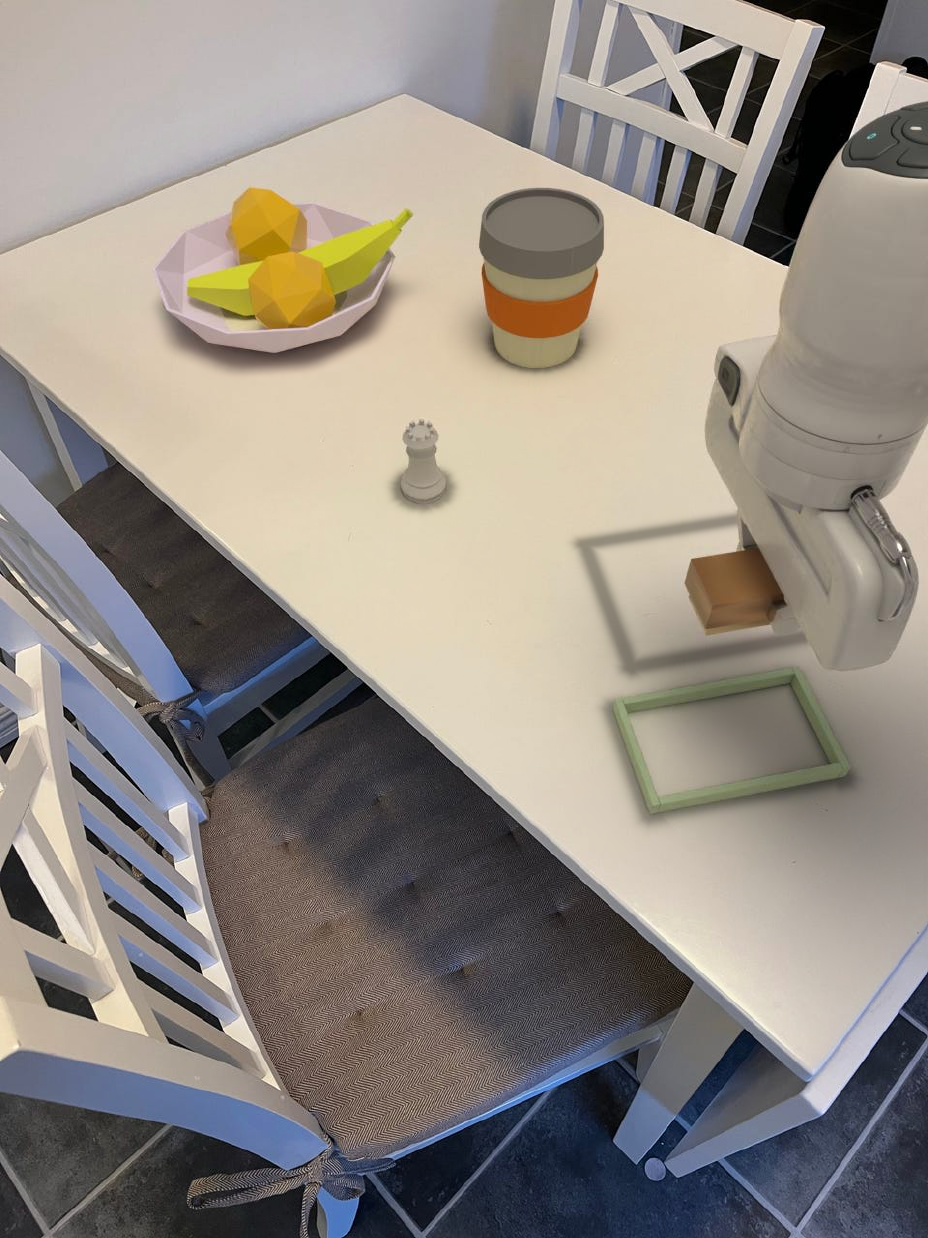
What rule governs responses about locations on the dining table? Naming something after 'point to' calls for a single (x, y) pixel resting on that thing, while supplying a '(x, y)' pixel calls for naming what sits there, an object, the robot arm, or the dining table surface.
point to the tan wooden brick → (731, 590)
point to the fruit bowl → (277, 271)
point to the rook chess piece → (422, 464)
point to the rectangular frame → (742, 788)
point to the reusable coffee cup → (539, 272)
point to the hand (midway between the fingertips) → (765, 592)
